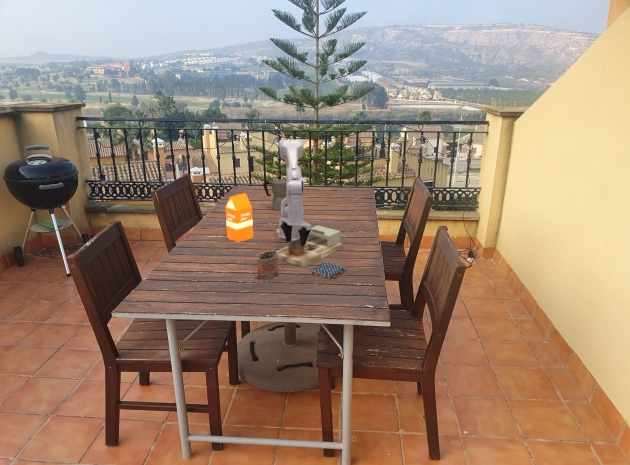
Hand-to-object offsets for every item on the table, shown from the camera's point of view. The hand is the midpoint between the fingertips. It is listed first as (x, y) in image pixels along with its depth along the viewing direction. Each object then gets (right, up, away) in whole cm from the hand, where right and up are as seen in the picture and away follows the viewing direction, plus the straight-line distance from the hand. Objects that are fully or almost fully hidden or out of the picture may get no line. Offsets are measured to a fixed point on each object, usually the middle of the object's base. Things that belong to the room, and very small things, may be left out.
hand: (295, 243), depth 183 cm
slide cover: (+11, +1, +14) cm, 18 cm away
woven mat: (+13, -11, -10) cm, 20 cm away
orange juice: (-26, +2, +24) cm, 36 cm away
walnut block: (0, -4, +2) cm, 4 cm away
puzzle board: (+5, -4, +8) cm, 10 cm away
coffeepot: (-12, +17, +67) cm, 70 cm away
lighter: (-10, -12, -13) cm, 20 cm away
